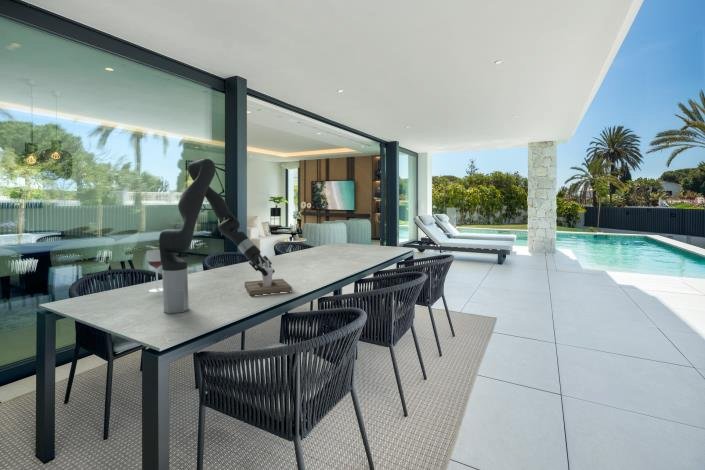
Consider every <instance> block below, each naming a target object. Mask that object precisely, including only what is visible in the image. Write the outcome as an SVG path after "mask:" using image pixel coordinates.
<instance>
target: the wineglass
mask: <svg viewBox="0 0 705 470" xmlns="http://www.w3.org/2000/svg"><path fill="white" fill-rule="evenodd" d="M145 254H146V260H147V262H148V265H150V266H151V267H152V268H155V281H156V285H155V286H156V288H152V289H149V290H148V291H149V292H150V293H158V292H163V287H161V288H160V287H159V275H158V273H159V271H158V268H160V267H162V264H161V259H160V249H149V250H146V253H145Z"/></svg>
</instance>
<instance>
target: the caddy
mask: <svg viewBox="0 0 705 470" xmlns="http://www.w3.org/2000/svg"><path fill="white" fill-rule="evenodd" d="M245 288H246V289H245ZM244 289H245V290H246V292H247V294H248V293H249V294H248V295H249V297H250V296H253V297H256V296H255V295H263V294H271V293H280V292H290V291H292V292H293V287H292V285H291V284H289V283H288V282H287V281H286V280H285V279H284V278H276V279H273V278H272V283H271V286H265V287H263V279H261V280H251V281H250V280H249V281H248V280H247V281H244ZM263 296H264V295H263Z"/></svg>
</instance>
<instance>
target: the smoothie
mask: <svg viewBox="0 0 705 470" xmlns="http://www.w3.org/2000/svg"><path fill="white" fill-rule="evenodd" d="M269 260H270V259H269ZM269 260H268V267H263V268H264V269H265V270H266V272H267V273H268V275H267V276H264V275H263V274H262V273H261V278H262V279H261V280H263V287H265V286H271V283H272V280H273V274H274V273H273V269H274V267H273V266H271V267H269Z"/></svg>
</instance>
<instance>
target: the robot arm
mask: <svg viewBox="0 0 705 470" xmlns="http://www.w3.org/2000/svg"><path fill="white" fill-rule="evenodd" d="M187 172H188V175H189V176H190V178H191V179H192V182H191V183H190V184H189V185H188V186H187V187H186V188H185V189H184V190H183V192H182V193H181V195H180V197H179V200H178V204H177V208H178V211H179V213H180V216H181V218H182V221H183V225H182V226H181V228H180V229H163V230H161V232H160V233H159V237H158V245H159V246H158V248H159V249H160V259H161V264H162V265H161V267H162V268H161V269H162V271H161V272H162V288H163V291H162V294H163V295H162V297H163V312H164V313H166V314H170V315H171V314H178V313H185V312H186V311H188V310H189V309H190V307H189V280H188V279H189V278H188V277H189V276H188V274H189V273H188V262H187V260H184V259H182V258H180V257H179V256H177V255H176V254H175V253H186V252H188V251H189V249H190V247H191V245H192V242H193V237H194V232H195V227H196V224H197V221H198V218H199V215H200V212H201V209H202V207H203V203H204V200H205V199H206V200H207V202H208V204H209V206H211V207H210V208H211V209H212V210H213V213H214V214H215V217H216V218H217V219H224V218H227V219H226V220H224V221H222V222H221V223H219V224H218V228H217V230H218V231H219V232H220V233H221V234H222V235H223V236H225V237H226V238H228V239H229V240H230V241H231V242H232V243H234V244H235V246H237V248H238V249H239V251H240V252H241V253H242V254H243V255H244V256H245V258H246V259H247V260H248V263H249V265H250V266H251V267H252V268H253V269H254V271H256V272H260V273H261V275H262V274H263V275H264V276H267V275H268V273H267V272H266V270H265V269H264V268H263V267H268V260H269V267H272V262H271V260H270V259H269V258H268V257H267V255H264V256H262V255H261V252H262V251H261V250H260V249H259V247H258V246H257V244H255V243H254V241H252V240H251V239H250V238H249V237H248V236H247V235H246V233H245V232H244V231H237V230H239V228H240V226H241V224H240V221H239V219H237V218H236V217H235V215H234V214H233V213H232V212H231V211H230V208H229V207H228V205H227V203H226V201H225V199H224V198H223V196H222V195H220V194H219V193H218V192H217V191H215V190H214V189H213V188H211V186H210V185H211V183H212V181H213V180H214V177H215V174H216V164H215V163H214V161H213V160H212V159H211V158H202V159H198V160H194V161H191V162H189V164H188V165H187ZM236 231H237V232H236ZM159 249H158V250H159ZM274 273H275V269H274V268H273V274H274Z"/></svg>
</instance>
